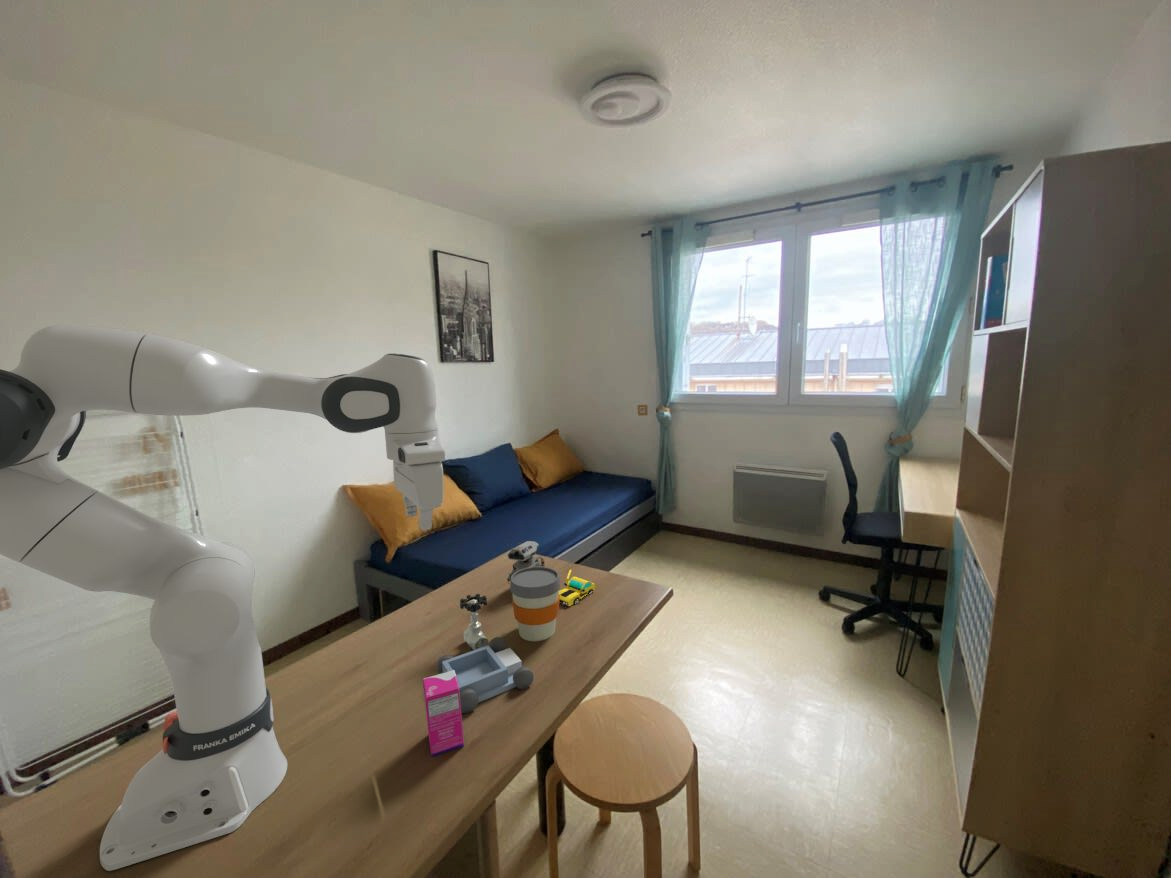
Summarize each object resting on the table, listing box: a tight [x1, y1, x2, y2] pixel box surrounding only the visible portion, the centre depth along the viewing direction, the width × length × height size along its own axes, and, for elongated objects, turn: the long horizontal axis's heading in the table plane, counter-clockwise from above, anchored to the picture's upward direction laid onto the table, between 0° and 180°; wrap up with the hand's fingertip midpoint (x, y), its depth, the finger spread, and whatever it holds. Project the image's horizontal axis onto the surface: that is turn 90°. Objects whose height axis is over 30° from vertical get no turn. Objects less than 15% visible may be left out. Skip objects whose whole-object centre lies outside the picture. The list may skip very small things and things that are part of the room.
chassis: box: [435, 636, 534, 714], centre depth 100 cm, size 16×15×4 cm
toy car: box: [559, 569, 596, 607], centre depth 135 cm, size 12×8×8 cm, turn 141°
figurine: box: [507, 540, 546, 582], centre depth 139 cm, size 9×12×15 cm
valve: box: [459, 593, 489, 651], centre depth 112 cm, size 7×7×12 cm
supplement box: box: [422, 670, 465, 757], centre depth 83 cm, size 6×6×12 cm
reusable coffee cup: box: [509, 566, 562, 642], centre depth 117 cm, size 13×13×15 cm
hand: (418, 522), depth 85 cm, fingers open, 8 cm apart
